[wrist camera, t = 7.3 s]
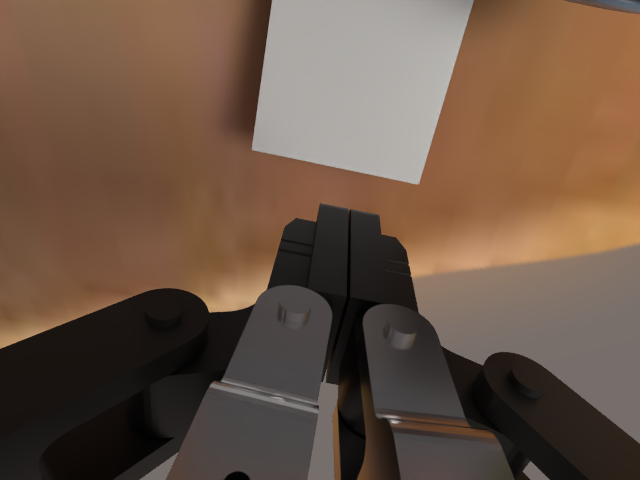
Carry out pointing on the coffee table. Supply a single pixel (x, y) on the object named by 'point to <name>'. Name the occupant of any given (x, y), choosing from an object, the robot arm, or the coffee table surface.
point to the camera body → (613, 5)
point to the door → (358, 81)
